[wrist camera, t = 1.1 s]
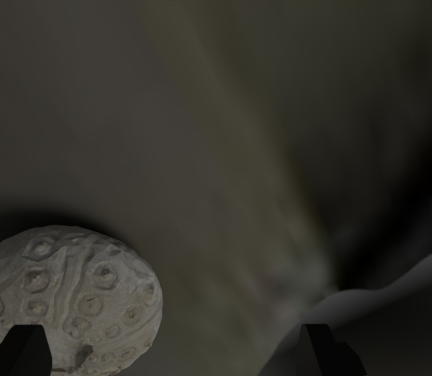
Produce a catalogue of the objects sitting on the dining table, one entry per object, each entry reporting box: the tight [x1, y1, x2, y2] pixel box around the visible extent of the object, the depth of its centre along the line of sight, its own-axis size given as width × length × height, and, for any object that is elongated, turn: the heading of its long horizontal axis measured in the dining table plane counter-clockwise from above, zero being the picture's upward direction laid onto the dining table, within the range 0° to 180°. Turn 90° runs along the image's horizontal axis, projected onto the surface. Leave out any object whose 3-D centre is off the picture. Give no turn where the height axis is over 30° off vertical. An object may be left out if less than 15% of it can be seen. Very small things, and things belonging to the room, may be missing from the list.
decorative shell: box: [0, 225, 163, 376], centre depth 33 cm, size 18×18×10 cm
